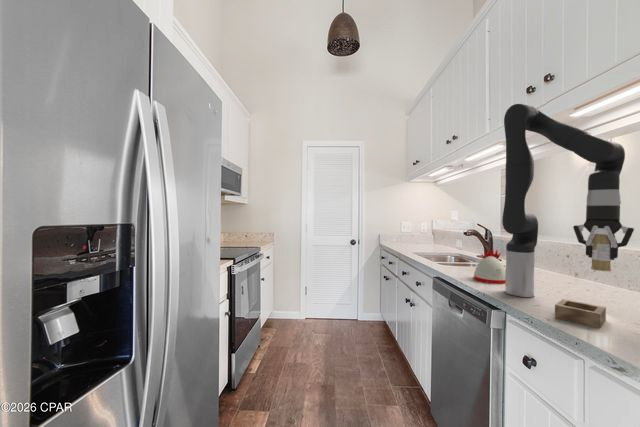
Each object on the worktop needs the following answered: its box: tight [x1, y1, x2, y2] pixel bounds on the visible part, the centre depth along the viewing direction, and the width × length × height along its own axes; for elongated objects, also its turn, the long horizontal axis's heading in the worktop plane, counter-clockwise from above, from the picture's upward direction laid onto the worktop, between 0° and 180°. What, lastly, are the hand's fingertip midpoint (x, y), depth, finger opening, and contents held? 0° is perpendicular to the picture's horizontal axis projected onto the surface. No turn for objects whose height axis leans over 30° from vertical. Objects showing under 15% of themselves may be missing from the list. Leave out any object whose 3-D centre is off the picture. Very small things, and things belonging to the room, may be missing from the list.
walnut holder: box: [554, 298, 607, 329], centre depth 86 cm, size 10×10×4 cm
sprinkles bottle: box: [590, 228, 612, 272], centre depth 89 cm, size 5×5×14 cm
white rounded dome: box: [473, 249, 506, 285], centre depth 136 cm, size 14×14×15 cm
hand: (601, 258), depth 89 cm, fingers closed on sprinkles bottle, 4 cm apart
